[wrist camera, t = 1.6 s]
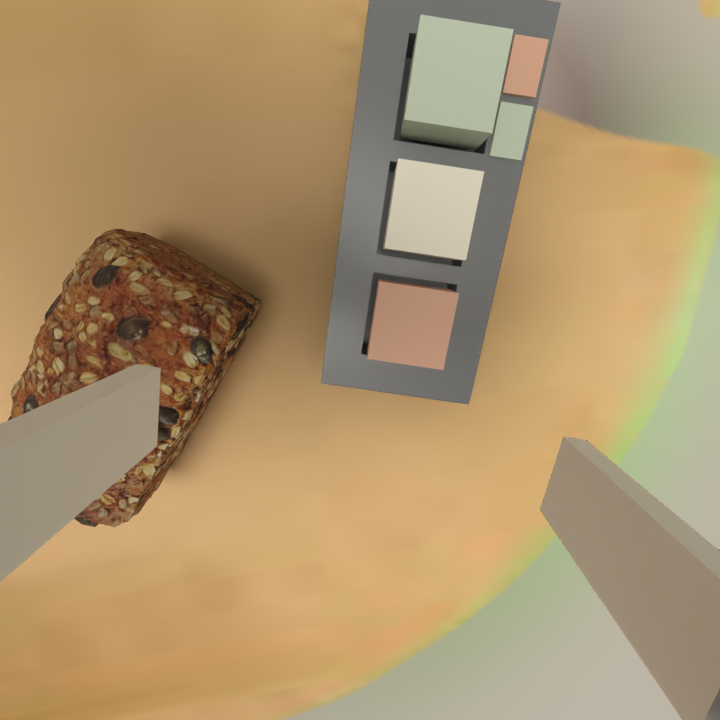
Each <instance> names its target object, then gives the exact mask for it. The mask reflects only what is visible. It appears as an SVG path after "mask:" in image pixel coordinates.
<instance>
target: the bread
mask: <svg viewBox="0 0 720 720" xmlns="http://www.w3.org/2000/svg"><path fill="white" fill-rule="evenodd" d="M75 264H76V267H75V268H74V269H73V270H72V272H71V273H70V274H69V275H68V276H67V277H66V279H65V281H64V282H63V292H62V293H61V294H60V295H59V296H58V297H57V298H56V300H55V301H54V303H53V304H52V306H51V307H50V308H49V310H48V311H47V313H46V314H45V323H44V325H43V326H41V327H40V331H39V333H38V334H37V336H36V339H35V344H34V347H33V351H32V354H31V355H30V361H29V363H28V366H27V368H26V370H25V371H24V372H23V374H22V375H21V379H20V380H19V381H18V382H16V383H15V384H14V386H13V389H12V391H11V396H12V400H13V405H12V412H11V416H10V417H9V420H11V419H13V418H15V417H18V416H20V415H22V414H24V413H27V412H29V411H31V410H34V409H36V408H38V407H40V406H43V405H45V404H47V403H49V402H52V401H54V400H56V399H59V398H61V397H63V396H65V395H68V394H70V393H72V392H74V391H77V390H79V389H81V388H83V387H86V386H88V385H90V384H93V383H95V382H97V381H99V380H102V379H104V378H106V377H108V376H111V375H113V374H115V373H118V372H120V371H122V370H124V369H127V368H129V367H131V366H133V365H136V364H140V365H146V366H152V367H157V368H161V373H160V395H159V416H158V437H157V447H156V448H154V449H153V450H152V451H151V452H150V453H149V454H147V455H146V456H145V457H144V458H143V459H142V460H141V461H139V462H138V463H137V464H136V465H135V466H134V467H132V468H131V469H130V470H129V471H128V472H127V473H125V474H124V475H123V476H122V477H121V478H120V479H119V480H117V481H116V482H115V483H114V484H113V485H112V486H110V487H109V488H108V489H107V490H106V491H105V492H104V493H102V494H101V495H100V496H99V497H98V498H97V499H95V500H94V501H93V502H92V503H91V504H90V505H89V506H87V507H86V508H85V509H84V510H83V511H82V512H80V513H79V514H78V515H77V516H76V517H75V518H74V519H75V520H77V521H78V522H80V523H81V524H83V525H88V526H93V527H96V526H97V525H98V524H104V525H109V526H112V527H116V526H118V525H120V524H122V523H124V522H128V521H129V520H130V519H131V518H132V516H134V515H136V514H138V513H139V512H140V510H141V509H142V507H143V506H144V505H145V503H146V502H147V500H148V499H149V498H151V496H152V494H153V493H154V491H156V490H157V489H158V487H159V485H160V484H161V482H162V480H163V478H164V477H165V475H166V473H167V472H168V470H169V468H170V467H171V465H172V464H173V462H174V461H175V459H176V458H177V457H178V455H179V453H180V452H181V450H182V448H183V446H184V444H185V441H186V439H187V438H188V436H189V435H190V433H191V432H192V429H193V428H194V426H195V424H196V423H197V422H198V420H199V419H200V417H201V414H202V413H203V411H204V409H205V408H206V406H207V404H208V403H209V401H210V399H211V397H212V396H213V394H214V392H215V391H216V389H217V387H218V385H219V383H220V381H221V380H222V378H223V376H224V375H225V373H226V371H227V369H228V368H229V366H230V364H231V362H232V359H233V357H234V356H235V354H236V353H237V352H238V351H239V349H240V346H241V345H242V343H243V341H244V339H245V337H246V334H247V333H248V331H249V330H250V327H251V325H252V322H253V320H254V319H255V317H256V316H257V314H258V311H259V310H260V308H261V303H260V301H259V299H257V298H255V297H254V296H252V295H251V294H248V293H246V292H244V291H243V290H242V289H240V288H239V287H238V286H236V285H235V284H233V283H231V282H230V281H228V280H226V279H224V278H222V277H221V276H219V275H217V274H216V273H215V272H213V271H212V270H210V269H208V268H206V267H205V266H203V265H201V264H200V263H198V262H197V261H196V260H194V259H193V258H191V257H190V256H188V255H186V254H185V253H183V252H181V251H179V250H178V249H176V248H174V247H173V246H171V245H169V244H167V243H165V242H163V241H160V240H158V239H156V238H153V237H151V236H149V235H147V234H145V233H139V232H132V231H125V230H123V229H113V230H110V231H107V232H105V233H103V234H102V235H101V236H99V237H98V238H96V239H95V241H94V243H93V244H92V245H91V246H90V247H89V248H88V249H87V250H86V252H85V253H83V254H82V255H81V256H80V257H79V258H78V260H77V261H76V263H75ZM9 420H8V421H9Z"/></svg>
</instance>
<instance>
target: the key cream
mask: <svg viewBox="0 0 720 720" xmlns="http://www.w3.org/2000/svg"><path fill="white" fill-rule="evenodd" d="M483 176H484V171H478V170H471V169H465V168H458V167H452V166H445V165H439V164H432V163H426V162H419V161H413V160H406V159H400V158H398V161H397V165H396V168H395V171H394V178H393V184H392V191H391V198H390V204H389V211H388V217H387V224H386V230H385V237H384V243H383V249H384V250H391V251H398V252H404V253H411V254H418V255H424V256H431V257H438V258H444V259H451V260H466V258H467V253H468V248H469V243H470V238H471V234H472V229H473V224H474V219H475V214H476V209H477V205H478V200H479V195H480V190H481V185H482V180H483Z"/></svg>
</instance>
